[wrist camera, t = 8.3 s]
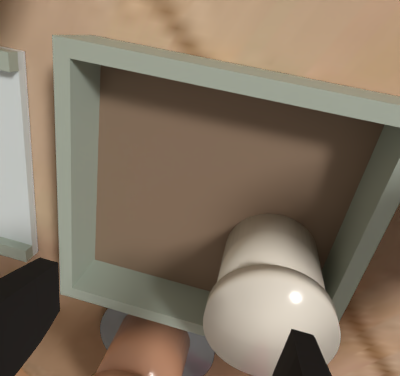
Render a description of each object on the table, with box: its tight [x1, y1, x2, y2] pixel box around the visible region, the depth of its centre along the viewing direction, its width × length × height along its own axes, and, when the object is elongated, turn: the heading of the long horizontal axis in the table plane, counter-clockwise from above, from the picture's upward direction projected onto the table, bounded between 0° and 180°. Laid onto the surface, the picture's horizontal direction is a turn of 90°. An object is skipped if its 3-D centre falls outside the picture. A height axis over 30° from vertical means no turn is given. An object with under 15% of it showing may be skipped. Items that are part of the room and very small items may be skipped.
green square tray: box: [52, 35, 400, 336], centre depth 18 cm, size 16×15×4 cm
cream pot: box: [203, 214, 341, 376], centre depth 17 cm, size 6×6×6 cm
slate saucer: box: [100, 308, 215, 376], centre depth 25 cm, size 9×9×1 cm
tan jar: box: [92, 314, 190, 376], centre depth 22 cm, size 6×6×6 cm
